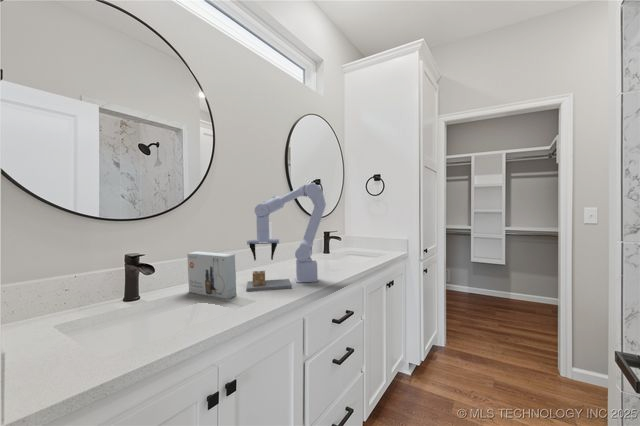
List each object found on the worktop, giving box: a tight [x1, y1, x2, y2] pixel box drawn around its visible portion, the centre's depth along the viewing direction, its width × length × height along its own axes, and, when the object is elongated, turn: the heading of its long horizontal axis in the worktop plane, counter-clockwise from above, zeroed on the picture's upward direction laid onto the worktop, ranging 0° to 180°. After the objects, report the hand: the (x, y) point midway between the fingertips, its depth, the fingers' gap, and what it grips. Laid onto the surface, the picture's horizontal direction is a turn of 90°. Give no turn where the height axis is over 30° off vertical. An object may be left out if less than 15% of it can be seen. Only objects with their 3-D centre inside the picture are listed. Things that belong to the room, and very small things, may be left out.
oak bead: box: [252, 270, 266, 286], centre depth 122 cm, size 5×5×5 cm
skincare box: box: [186, 251, 238, 300], centre depth 113 cm, size 21×5×16 cm, turn 62°
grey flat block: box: [245, 270, 293, 293], centre depth 123 cm, size 18×12×7 cm, turn 101°
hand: (263, 259), depth 134 cm, fingers open, 7 cm apart
